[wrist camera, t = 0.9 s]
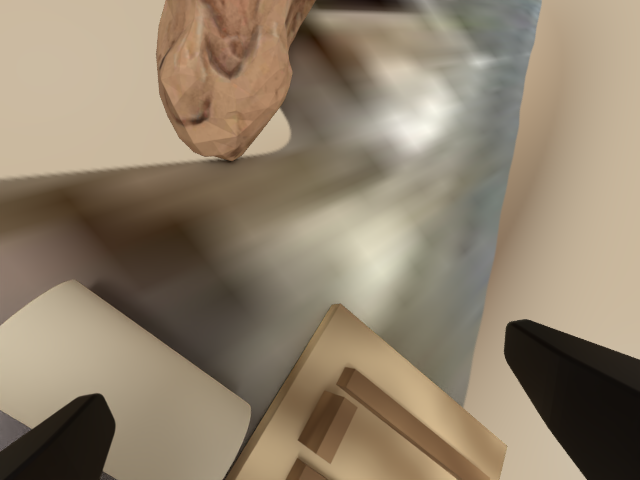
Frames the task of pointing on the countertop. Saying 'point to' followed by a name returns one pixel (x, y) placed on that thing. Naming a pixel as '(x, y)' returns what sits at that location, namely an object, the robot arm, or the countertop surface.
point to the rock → (225, 68)
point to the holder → (364, 418)
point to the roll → (119, 386)
